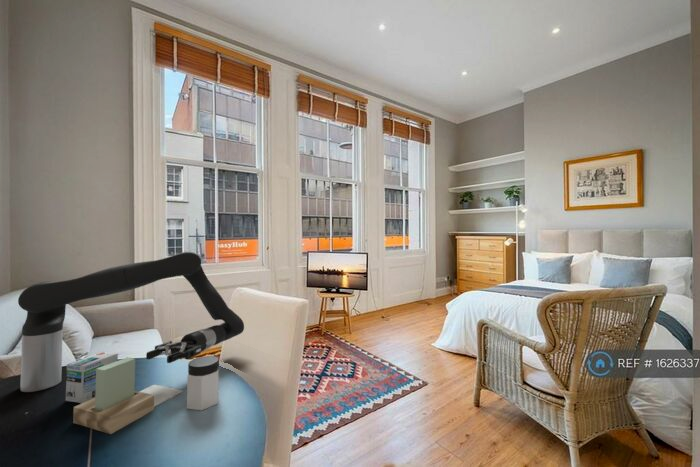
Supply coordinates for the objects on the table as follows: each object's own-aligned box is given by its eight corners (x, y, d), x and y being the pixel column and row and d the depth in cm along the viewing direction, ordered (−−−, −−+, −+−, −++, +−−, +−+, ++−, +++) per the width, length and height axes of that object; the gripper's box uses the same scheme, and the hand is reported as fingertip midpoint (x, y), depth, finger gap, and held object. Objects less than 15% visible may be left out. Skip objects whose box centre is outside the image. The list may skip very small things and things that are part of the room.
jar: (217, 408, 85) (218, 365, 85) (185, 413, 82) (185, 369, 82) (219, 392, 93) (220, 353, 94) (190, 397, 90) (190, 357, 91)
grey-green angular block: (94, 423, 77) (96, 368, 78) (126, 407, 85) (127, 357, 85) (102, 425, 76) (104, 370, 77) (134, 409, 84) (135, 358, 84)
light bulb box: (82, 404, 86) (83, 366, 87) (64, 401, 88) (65, 364, 88) (118, 386, 97) (118, 352, 97) (101, 384, 98) (101, 351, 99)
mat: (122, 400, 88) (122, 399, 88) (154, 385, 98) (154, 384, 98) (152, 408, 84) (152, 407, 84) (182, 391, 94) (182, 390, 94)
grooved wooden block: (73, 422, 78) (73, 407, 78) (118, 400, 88) (119, 387, 88) (111, 434, 73) (111, 417, 73) (154, 409, 84) (154, 395, 84)
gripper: (183, 328, 110) (140, 343, 95) (215, 332, 106) (175, 348, 90) (183, 349, 110) (140, 367, 94) (215, 354, 105) (174, 373, 90)
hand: (157, 358), depth 92 cm, fingers open, 8 cm apart
